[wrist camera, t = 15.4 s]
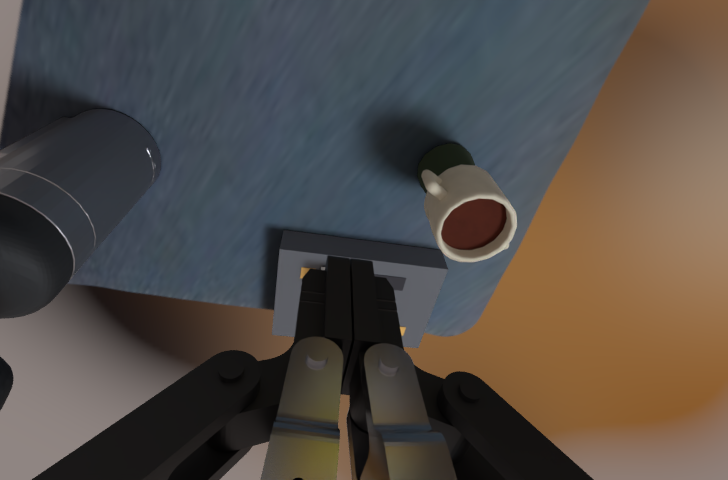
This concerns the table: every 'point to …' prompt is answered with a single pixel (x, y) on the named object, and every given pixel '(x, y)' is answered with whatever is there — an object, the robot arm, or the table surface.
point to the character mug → (464, 205)
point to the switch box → (395, 262)
